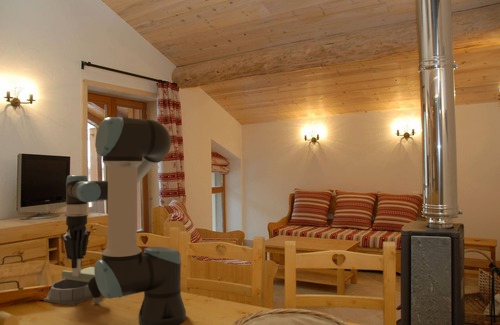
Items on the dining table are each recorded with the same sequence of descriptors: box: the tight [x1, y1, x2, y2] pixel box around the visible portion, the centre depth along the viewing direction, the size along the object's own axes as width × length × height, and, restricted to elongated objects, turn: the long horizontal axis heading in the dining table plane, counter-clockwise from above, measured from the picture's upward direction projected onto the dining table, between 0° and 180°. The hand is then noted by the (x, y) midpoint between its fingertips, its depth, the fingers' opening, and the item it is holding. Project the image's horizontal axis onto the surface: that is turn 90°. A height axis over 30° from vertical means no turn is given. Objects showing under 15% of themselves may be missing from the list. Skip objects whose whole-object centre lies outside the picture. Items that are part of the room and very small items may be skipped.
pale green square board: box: [61, 266, 95, 282], centre depth 168 cm, size 16×16×3 cm
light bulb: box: [88, 277, 102, 306], centre depth 148 cm, size 6×6×10 cm
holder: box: [43, 279, 93, 306], centre depth 157 cm, size 16×16×5 cm
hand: (76, 275), depth 160 cm, fingers closed
